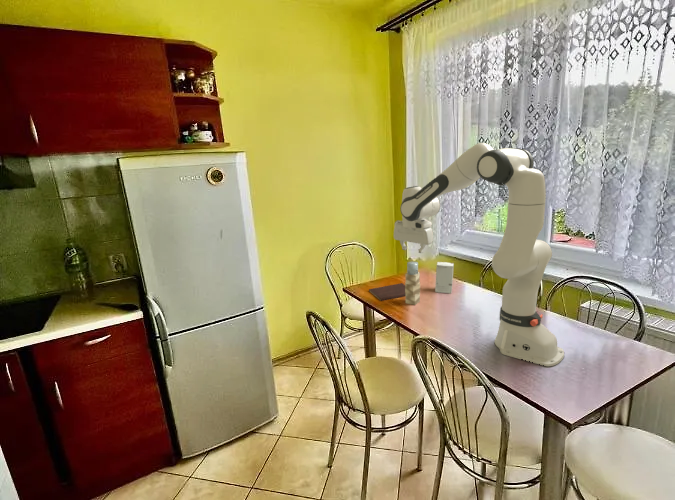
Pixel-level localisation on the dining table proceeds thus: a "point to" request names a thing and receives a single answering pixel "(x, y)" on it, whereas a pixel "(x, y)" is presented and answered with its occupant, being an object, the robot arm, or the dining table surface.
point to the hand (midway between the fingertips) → (412, 251)
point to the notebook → (389, 292)
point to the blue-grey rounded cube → (412, 268)
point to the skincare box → (444, 277)
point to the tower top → (413, 279)
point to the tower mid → (412, 289)
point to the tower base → (412, 299)
